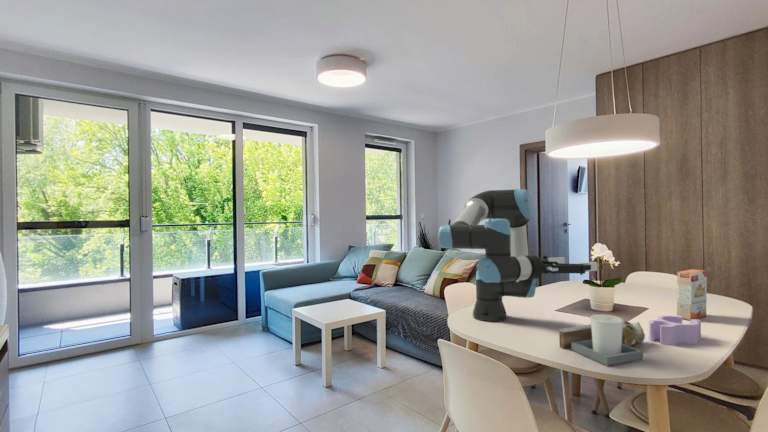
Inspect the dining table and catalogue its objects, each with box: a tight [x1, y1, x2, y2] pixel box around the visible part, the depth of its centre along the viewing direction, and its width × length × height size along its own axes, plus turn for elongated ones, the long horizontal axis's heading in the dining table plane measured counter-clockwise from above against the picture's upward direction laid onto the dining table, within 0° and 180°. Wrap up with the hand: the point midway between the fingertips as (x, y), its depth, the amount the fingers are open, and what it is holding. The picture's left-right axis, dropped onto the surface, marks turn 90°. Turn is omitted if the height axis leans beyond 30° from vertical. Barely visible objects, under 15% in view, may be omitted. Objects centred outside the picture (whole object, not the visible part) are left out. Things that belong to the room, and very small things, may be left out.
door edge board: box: [558, 324, 592, 350], centre depth 141 cm, size 2×18×7 cm, turn 107°
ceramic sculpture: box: [622, 321, 646, 348], centre depth 141 cm, size 11×9×15 cm
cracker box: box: [676, 268, 708, 321], centre depth 172 cm, size 14×6×21 cm, turn 118°
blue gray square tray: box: [570, 339, 644, 368], centre depth 131 cm, size 15×15×3 cm
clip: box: [648, 314, 702, 346], centre depth 146 cm, size 20×12×7 cm, turn 112°
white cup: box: [589, 314, 624, 356], centre depth 132 cm, size 10×10×12 cm
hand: (579, 263), depth 128 cm, fingers open, 13 cm apart
